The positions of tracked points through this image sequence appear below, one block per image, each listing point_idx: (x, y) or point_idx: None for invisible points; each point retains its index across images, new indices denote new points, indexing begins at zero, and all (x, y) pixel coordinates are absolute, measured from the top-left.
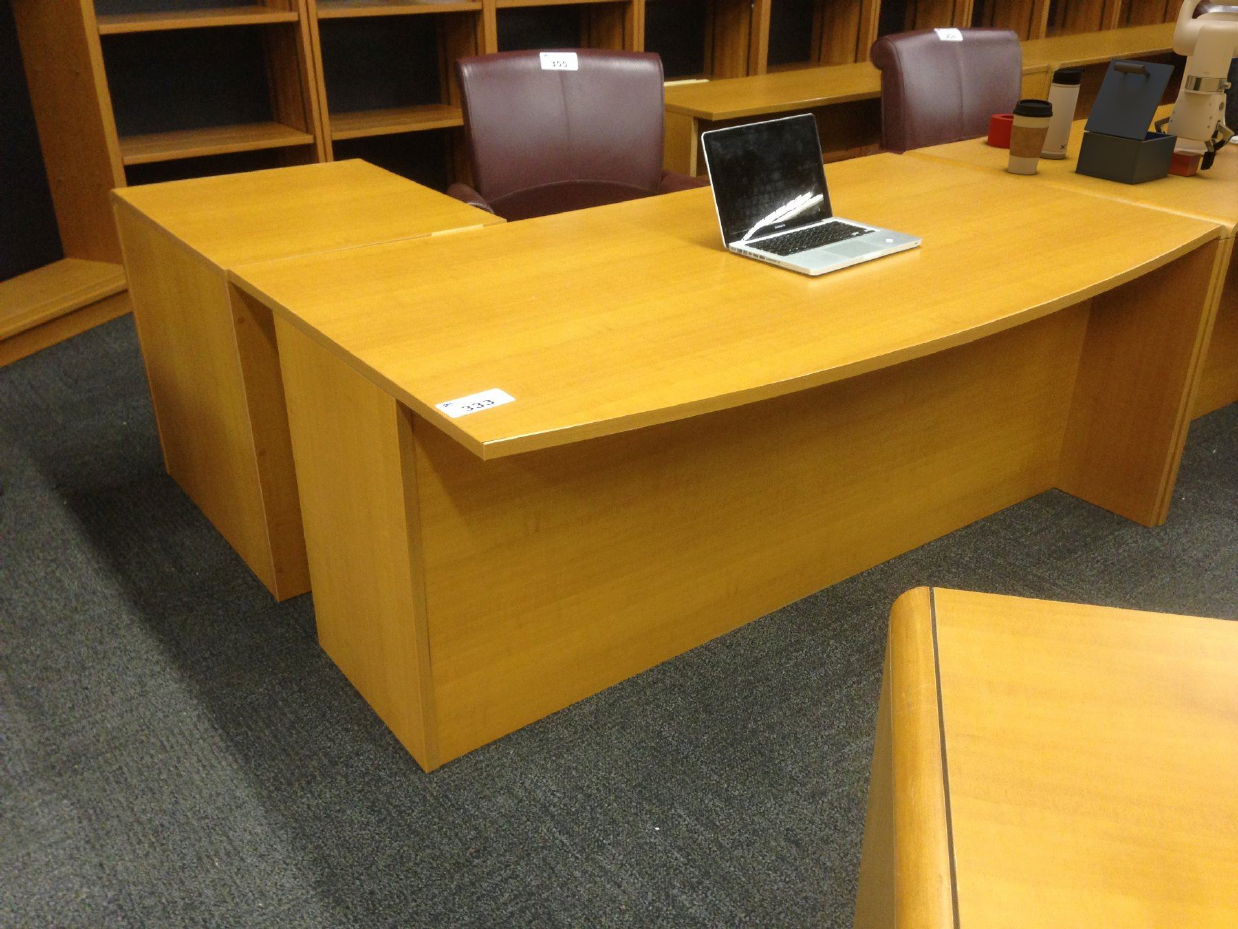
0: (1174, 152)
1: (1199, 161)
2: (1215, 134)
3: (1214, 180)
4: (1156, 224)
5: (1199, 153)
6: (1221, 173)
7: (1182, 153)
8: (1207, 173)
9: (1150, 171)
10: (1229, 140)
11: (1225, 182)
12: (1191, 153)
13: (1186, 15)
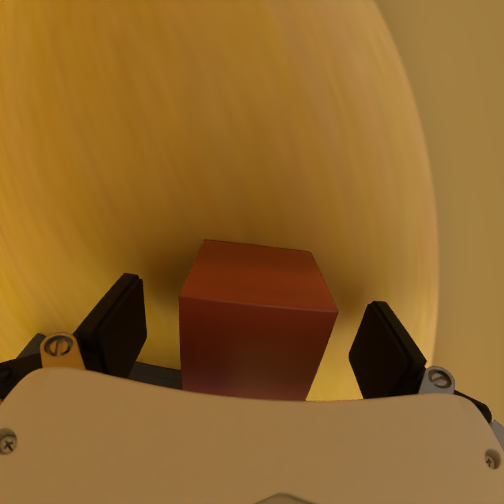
0: (190, 388)
1: (325, 285)
2: (463, 417)
3: (396, 311)
4: None
5: (323, 310)
6: (395, 126)
7: (237, 386)
8: (347, 181)
9: None
10: (497, 423)
11: (429, 310)
12: (278, 352)
13: None
